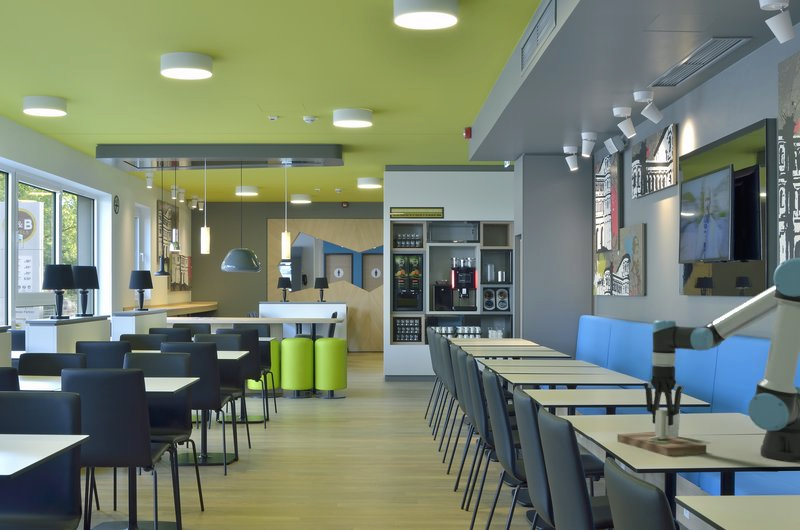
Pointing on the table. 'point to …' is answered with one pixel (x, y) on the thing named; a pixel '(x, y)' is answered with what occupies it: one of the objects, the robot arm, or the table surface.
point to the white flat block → (660, 424)
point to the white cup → (674, 424)
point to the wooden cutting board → (661, 444)
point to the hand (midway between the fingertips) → (662, 434)
